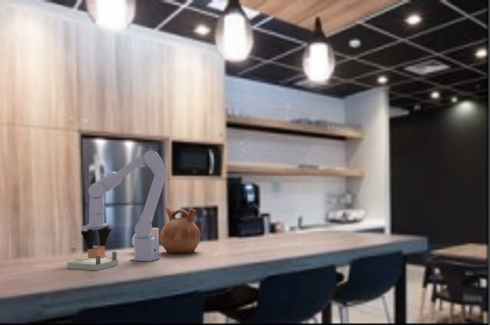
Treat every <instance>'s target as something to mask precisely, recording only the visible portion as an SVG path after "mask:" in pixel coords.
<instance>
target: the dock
mask: <svg viewBox="0 0 490 325" xmlns="http://www.w3.org/2000/svg"><path fill="white" fill-rule="evenodd" d="M111 252H112V253H111V255H112V256H111V257H112V259H101V255H96V258H85V259H81V260H73V261H69V262H67V263H66V264H67V265H66V268H67V269H72V270H73V269H76V270H87V271H102V270H105V269H109V268H112V266H113V267H116V266H119V259H117V256H118V252H117V251H111Z"/></svg>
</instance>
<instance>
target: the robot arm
mask: <svg viewBox="0 0 490 325" xmlns="http://www.w3.org/2000/svg"><path fill="white" fill-rule="evenodd" d="M146 165H147V166H146ZM146 167H149V169H150V170H151V172H152V173H153V175H154V177H153V179H152V182H151V185H150V187H149V191H148V195H147V198H146V202H145V205H144V206H143V207H144V208H143V210H142V213H141V215H140V218H139V221H138V222H137V223H136V224H135V226H134V234H136V236H134V235H133V236H134V237H135V238H134V246H133V247H134V249H133V250H134V252H133V253H134V256H133V257H132V258H129V261H140V262H141V261H142V262H152V261H155V260H158V259H160V258H161V257H160V242H159V241H160V240H159V238H158V239H157V238H153V235H152V234H151V233H150V232H151V230H152V228H153V225H152V223H153V219H154V216H155V213H156V209H157V206H158V202H159V200H160V196H161V193H162V190H163V188H164V183H165V181H166V177H167V171H166V168H165V164H164V161H163V159H162V157H161V156H160V155H159V153H157V151H155V150H148V151H146V152H145V153H143V154H141V155H139V156H137V157H136V158H134V159H132V160H131V161H130V162H129V163H127V164H126V165H125V166H123V167H122V168H120V169H119V170H118V171H111V172H109V171H108V172H107V173H106V175H105V176H104V177H103V178H101V179H98V180H97V181H96V182H94V183H92V184H91V185H90V186H89V187H88V189H87V190H88V195H89V202H88V204H89V205H88V206H89V208H88V209H89V210H88V212H89V213H88V217H89V218H88V223H87V224H85V225H81V231H80V235H82V237H83V240H84V242H85V246H86V249H87V250H88V249H92V248H93V246H94V241H95V240H94V239H95V235H96V230H97V234H98V239H99V246H105V247H106V245H107V241H108V238H109V236H110V234H111V232H112V228H111V222H109V223H108V222H105V195H106V193H109V192H111V191H112V190H113V189H114V188H115V187H117V186H119V185H120V184H121V183H122V179H123V178H125V177H126V176H128V175H129V174H131V173H132V172H134V171H135V170H137V169H139V168H146Z"/></svg>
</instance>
